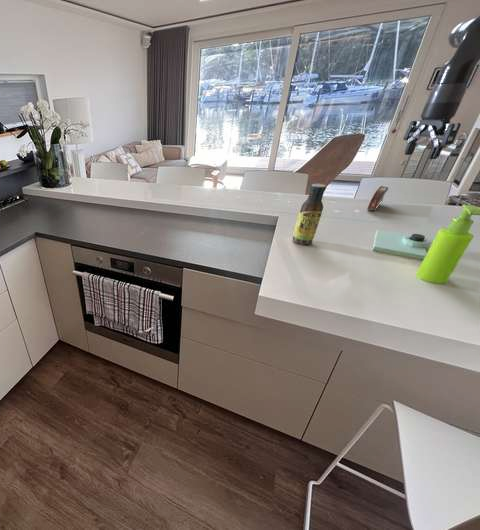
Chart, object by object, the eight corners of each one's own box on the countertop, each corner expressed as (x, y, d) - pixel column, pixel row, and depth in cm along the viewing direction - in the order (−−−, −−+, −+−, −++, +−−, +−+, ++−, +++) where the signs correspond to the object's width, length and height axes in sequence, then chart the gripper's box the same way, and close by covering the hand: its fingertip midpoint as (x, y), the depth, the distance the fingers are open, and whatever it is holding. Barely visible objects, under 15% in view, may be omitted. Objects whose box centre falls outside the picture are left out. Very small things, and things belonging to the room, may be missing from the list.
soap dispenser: (419, 282, 76) (458, 210, 65) (413, 269, 80) (449, 201, 70) (450, 287, 73) (496, 213, 63) (443, 274, 78) (484, 203, 68)
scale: (424, 240, 94) (428, 232, 93) (426, 260, 84) (431, 251, 82) (375, 232, 101) (379, 224, 100) (372, 250, 91) (376, 242, 90)
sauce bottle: (293, 245, 98) (308, 187, 88) (289, 237, 103) (303, 182, 93) (315, 246, 96) (332, 187, 86) (310, 238, 101) (326, 182, 91)
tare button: (422, 239, 89) (425, 235, 89) (423, 243, 88) (425, 238, 87) (409, 237, 91) (411, 233, 90) (409, 241, 89) (412, 236, 89)
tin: (373, 202, 126) (381, 183, 121) (382, 203, 124) (390, 184, 119) (365, 212, 117) (372, 192, 113) (374, 213, 115) (382, 193, 111)
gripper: (482, 99, 80) (453, 159, 88) (433, 99, 93) (411, 152, 101) (455, 101, 80) (428, 161, 89) (410, 101, 93) (390, 154, 101)
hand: (419, 156), depth 95 cm, fingers open, 8 cm apart
